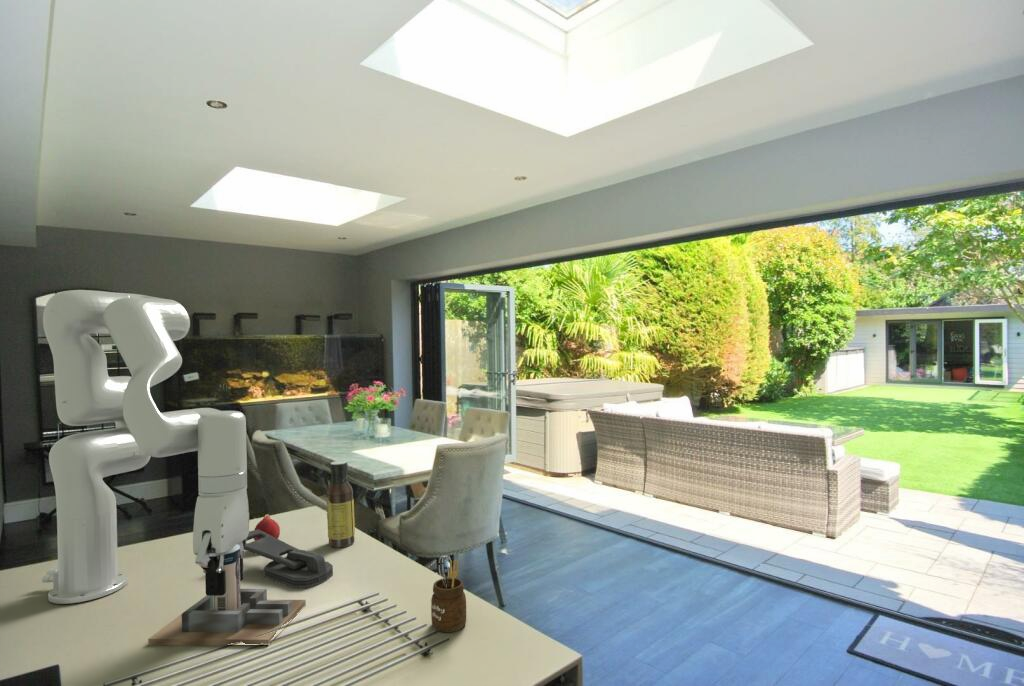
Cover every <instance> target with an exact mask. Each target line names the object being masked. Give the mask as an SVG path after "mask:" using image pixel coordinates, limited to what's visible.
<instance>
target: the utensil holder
mask: <svg viewBox="0 0 1024 686" xmlns="http://www.w3.org/2000/svg"><path fill="white" fill-rule="evenodd" d="M445 558H446V561H448V559H449V560H450V561H449V564H446V566H447V577H445V575H442V574H441V569H440V568H442V572H444V571H445V570H444V565H441V567H440V566H438V574H439V576H443V577H440V579H438V580H436V581H434V583H433V586H432V593H433V594H432V596H431V600H430V607H431V608H430V611H431V614H430V616H431V625H432V627H433V629H435V630H436V631H438V632H441V633H453V632H457V631H459V630H462V629H463V628H464V627H465V625H466V624H467V596H466V593H465V592H464V590H465V586H464V582H463V580H462V579H460V578H458V576H459V566H460V559H453V561H452V559H451V557H450V556H449V555H445ZM441 559H442V560H441ZM440 561H441V562H444V555H442V556H441V557H440V558H439V561H438V562H440ZM452 564H453V565H452Z"/></svg>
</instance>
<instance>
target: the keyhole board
mask: <svg viewBox="0 0 1024 686" xmlns="http://www.w3.org/2000/svg"><path fill="white" fill-rule="evenodd" d="M267 591H268V589H267V588H240V600H241V606H240V607H238V608H237V609H236V610H235V611H210V596H208V595H206V594H205V596H203V597H202V598H201V599H199V600H198V601H197V602H196V603H195V604H193V605H192V606H189V608H188V609H186V610H185V611H183V612H182V613H181V614H179V615H178V616H177V617H175V618H174V619H173V620H172V621H169V623H168V624H166V625H165V626H164V627H162V628H161V629H160V630H158V631H157V632H156V633H154V634H152V635H151V636H150V637H149V638H148V639H147V640H148V642H147V643H148V646H214V647H215V646H223V645H228V644H231V643H236V642H240V641H242V642H243V643H245V644H261V643H267V644H268V643H269V641H270V640H271V639H272V638H273V637H274V635H275V634H276V632H277V631H275V632H272V633H268V634H265V635H262V636H258V637H255V636H257V635H260V634H264V633H267V632H270V631H272V630H274V629H277V628H280V627H281V626H282V625H284V624H286V623H287V622H289V621H290V620H291V619H293V618H294V619H295V618H296V616H297V615H298V614H299V613H300V612H301V611H302V610H303V609H302V608H303V607H306V602H307V601H306V599H268V592H267ZM301 609H302V610H301ZM300 610H301V611H300ZM299 611H300V612H299ZM298 612H299V613H298ZM297 613H298V614H297ZM294 619H293V620H294Z"/></svg>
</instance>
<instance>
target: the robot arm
mask: <svg viewBox="0 0 1024 686" xmlns="http://www.w3.org/2000/svg"><path fill="white" fill-rule="evenodd" d="M42 315H43V316H42V325H43V331H44V335H45V337H46V340H47V342H48V345H49V349H50V351H51V355H52V360H53V373H54V374H53V375H54V391H55V394H54V395H55V404H56V405H55V406H56V412H57V417H58V418H59V420H60V422H61V423H63V424H65V425H67V426H71V427H74V426H75V427H77V426H78V427H79V426H80V427H81V426H92V425H100V424H107V423H108V424H109V423H114V424H115V427H114V428H108V429H98V430H93V431H92V430H91V431H83V432H78V433H74V434H70V435H66V436H64V437H62V438H61V439H59V440H57V441H55V443H54V444H53V445H52V446H51V448H50V451H49V454H48V462H49V468H50V472H51V475H52V479H53V484H54V490H55V503H56V524H57V525H56V529H57V531H56V532H57V535H56V537H57V540H56V541H57V568H49V569H48V570H47V572H46V574H45V575H44V576H42V578H41V581H42V583H52V586H53V587H52V589H51V590H49V592H48V594H47V597H48V598H47V599H48V601H49V602H50V603H53V604H57V605H67V604H68V605H69V604H77V603H83V602H89V601H93V600H96V599H99V598H103V597H105V596H108V595H111V594H112V593H115V592H117V591H119V590H120V589H122V588H124V586H126V585H127V583H128V575H126V574H125V573H124V572H123V573H122V572H119V570H118V569H119V567H118V566H119V565H118V561H119V560H118V559H119V558H118V526H117V525H118V524H117V523H118V519H117V517H118V515H117V511H118V510H117V499H116V498H117V497H116V495H115V493H114V491H113V490H112V489H111V488H110V486H108V485H107V484H106V483H105V481H104V480H103V479H104V478H107V477H110V476H113V475H119V474H124V473H128V472H132V471H137V470H140V469H141V468H144V467H145V466H147V464H148V463H149V462H150V459H151V457H152V458H165V457H171V456H176V455H180V454H185V453H192V452H197V468H198V470H197V471H198V472H197V474H198V475H197V476H198V477H197V478H198V496H197V498H196V502H195V507H194V516H193V529H192V532H193V533H192V534H193V535H192V552H193V553H192V554H194V555H195V556H196V557H195V561H194V562H195V564H196V565H198V566H199V567H200V568H201V569H202V571H203V574H205V575H204V577H205V584H204V585H205V596H206V595H208V596H222V595H224V594H225V593H226V578H225V571H222V570H223V563H224V555H225V552H227V551H228V550H230V549H231V548H232V547H234V546H235V545H236V544H239V546H240V582H242V581H243V580H244V556H245V550H244V546H245V544H246V543H247V541H246V539H247V537H248V535H249V532H250V509H249V499H248V491H247V489H248V462H247V461H248V460H247V459H248V458H247V457H248V455H247V418H246V415H244V413H243V412H241V411H238V410H220V409H217V408H212V407H198V408H192V409H180V410H172V411H164V412H160V410H159V409H158V407H157V404H156V402H155V401H154V400H153V397H152V394H151V388H152V387H153V386H156V385H157V384H158V385H159V384H160V383H162V382H163V381H166V380H167V379H169V378H170V377H171V376H173V375H174V374H176V373H177V372H178V371H179V370H180V368H181V366H182V364H183V358H182V355H181V354H180V351H179V350H178V348H177V346H176V344H175V341H176V342H177V341H179V340H182V339H183V338H185V337H186V336H187V335H188V333H189V330H190V327H191V319H190V316H189V313H188V312H187V310H186V308H185V307H184V306H183V305H182V304H181V303H180V302H178V301H176V300H173V299H168V298H167V299H166V298H162V297H156V296H150V295H145V294H138V293H125V292H113V291H112V292H111V291H103V290H91V289H90V290H89V289H88V290H86V289H74V290H73V289H72V290H64V291H60V292H57V293H55V294H53V295H52V296H51V297H50V298H49V299H48V301H46V304H45V307H44V309H43V314H42ZM90 334H104V335H108V334H109V336H110V337H111V339H112V341H113V342H114V345H115V347H116V348H117V350H118V352H119V354H120V355H121V358H122V360H123V361H124V364H125V366H126V368H127V369H128V370H129V372H130V374H131V376H129V375H119V376H117V375H116V376H109V372H108V365H107V364H108V359H107V355H106V353H105V351H104V349H103V348H102V347H101V345H100V344H99V343H98V342H97V340H96V339H95V338H93V337H92V336H91V335H90ZM212 549H215V550H216V552H212ZM212 557H217V563H216V562H215V561H214V560H211V558H212Z"/></svg>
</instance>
